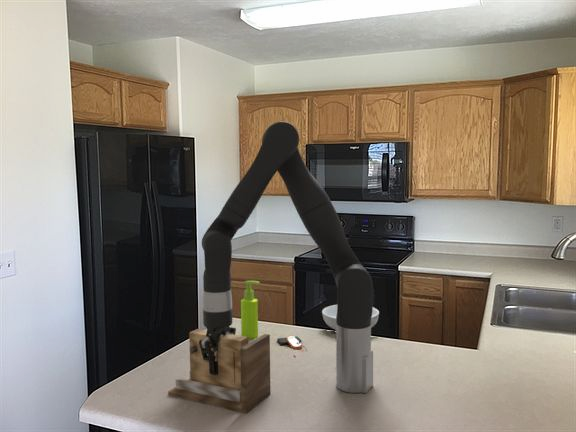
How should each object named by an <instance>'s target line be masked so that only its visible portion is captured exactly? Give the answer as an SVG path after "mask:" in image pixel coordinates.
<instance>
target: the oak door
mask: <svg viewBox="0 0 576 432" xmlns="http://www.w3.org/2000/svg"><path fill="white" fill-rule="evenodd" d="M206 333H207V329H206V330H205V329H199V328H196V329H195V330H194V329H193V330H192V331H190V332H189V333H188V334H189V338H188V339H189V340H188V341H189V379H190V378H191V381H196V382H201V383H205V384H210V385H215V386H219V387H224V388H229V389H233V390H238V391H241V357H240V348H241V347H243V346H245V345H247V344H248V343H249V339H248V337H245V336H241V335H237V334H235V335H233V334H227V335H223V337H222V338H221V341H220V351H219V352H218V360H217V361H218V374H217V375H211V374H210V372H209V361H207V360H203V356H202V352H201V349H200V345H199V341H200V340H204V339H205V338H206ZM211 347H212V348H215V349H216V348H217V347H213V346H211ZM212 353H213V356H214V352H212ZM207 355H208V354H207Z"/></svg>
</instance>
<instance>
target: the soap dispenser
mask: <svg viewBox="0 0 576 432" xmlns="http://www.w3.org/2000/svg"><path fill="white" fill-rule="evenodd" d="M260 283H261V282H260V281H259V280H245V281H244V284H246V289H244V290H243V291H244V292H243V294H244V297H243V299H241V300H240V325H241V327H240V328H241V331H240V332H241V335H240V336H245V337H248V340H252V339H257V338H259V322H258V321H259V316H258V315H259V314H258V312H259V311H258V309H259V307H258V306H259V305H258V303H259V302H258V301H259V300H258V299H257V298H255V290H254V289H252V284H256V285H259V284H260Z"/></svg>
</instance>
